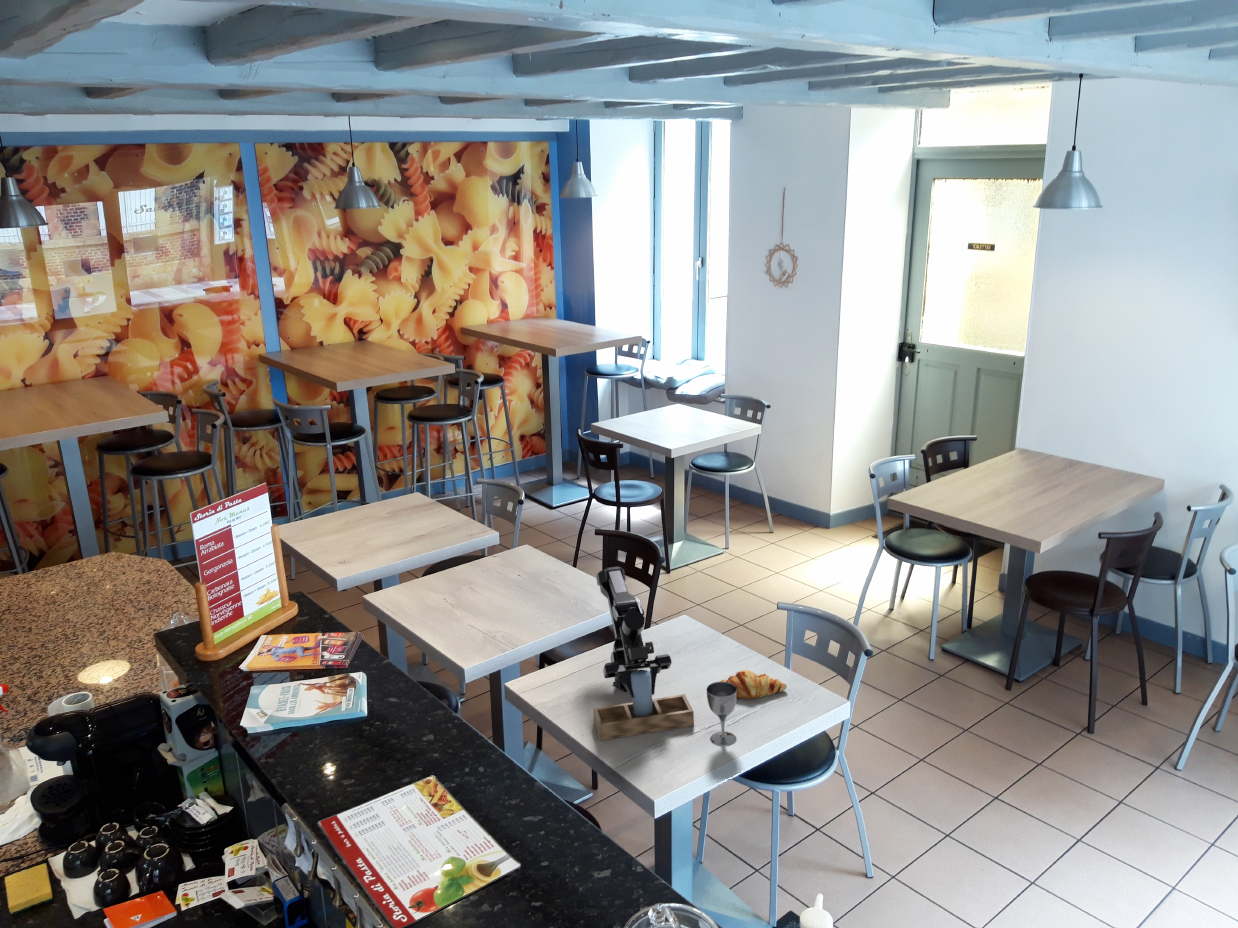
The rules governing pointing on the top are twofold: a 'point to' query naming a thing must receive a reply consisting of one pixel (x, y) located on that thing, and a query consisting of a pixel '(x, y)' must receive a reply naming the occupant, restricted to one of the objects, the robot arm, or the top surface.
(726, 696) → the wine glass
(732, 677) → the croissant
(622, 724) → the rack
